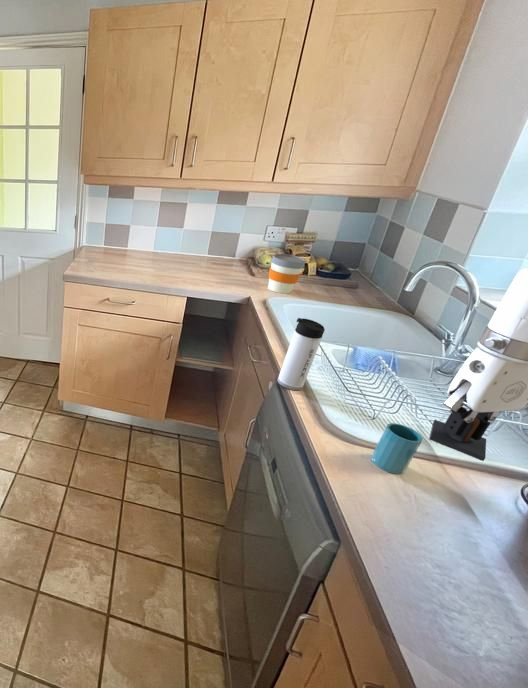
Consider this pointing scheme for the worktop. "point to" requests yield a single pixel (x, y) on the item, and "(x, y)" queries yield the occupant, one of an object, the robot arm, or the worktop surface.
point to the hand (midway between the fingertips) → (460, 434)
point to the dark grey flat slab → (467, 446)
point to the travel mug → (300, 354)
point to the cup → (396, 448)
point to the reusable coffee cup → (284, 272)
